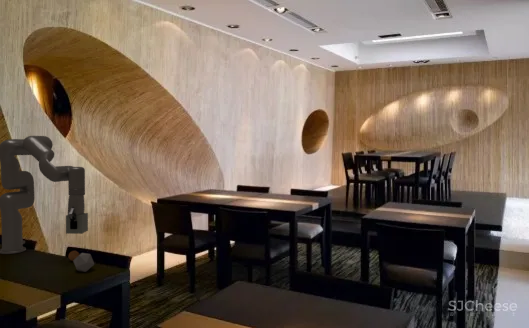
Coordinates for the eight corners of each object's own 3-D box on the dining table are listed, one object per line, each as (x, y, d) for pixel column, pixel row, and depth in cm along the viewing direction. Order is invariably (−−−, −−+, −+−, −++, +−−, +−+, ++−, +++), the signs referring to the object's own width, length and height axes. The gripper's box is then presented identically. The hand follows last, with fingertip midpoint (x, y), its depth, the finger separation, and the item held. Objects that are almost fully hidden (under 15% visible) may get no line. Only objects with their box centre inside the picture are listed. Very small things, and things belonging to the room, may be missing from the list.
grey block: (72, 230, 221) (72, 212, 221) (87, 230, 222) (87, 213, 221) (66, 233, 214) (65, 215, 213) (82, 233, 214) (82, 215, 213)
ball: (83, 255, 221) (75, 261, 221) (76, 247, 220) (68, 253, 221) (79, 257, 216) (71, 264, 216) (72, 250, 215) (64, 256, 216)
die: (98, 270, 205) (94, 252, 209) (90, 266, 197) (86, 247, 201) (81, 277, 204) (77, 258, 208) (72, 273, 196) (69, 253, 200)
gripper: (75, 189, 225) (76, 224, 226) (61, 194, 208) (61, 231, 209) (90, 190, 225) (91, 224, 226) (77, 194, 208) (78, 231, 209)
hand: (77, 227), depth 217 cm, fingers closed on grey block, 7 cm apart
